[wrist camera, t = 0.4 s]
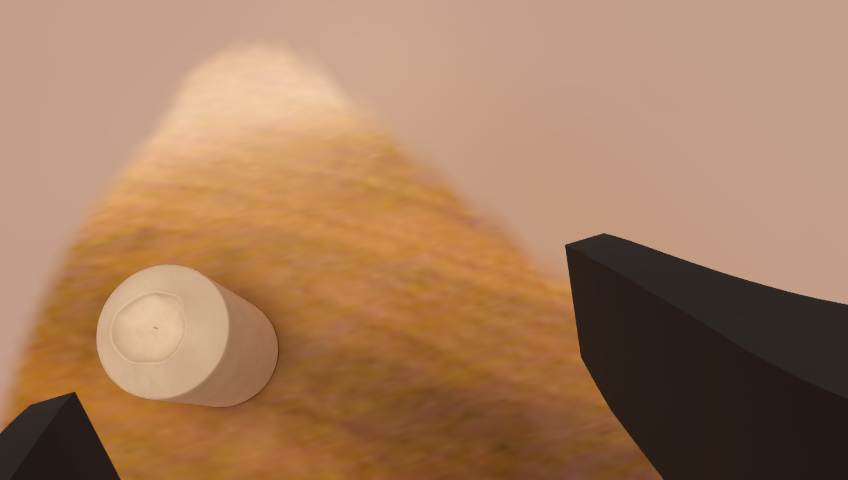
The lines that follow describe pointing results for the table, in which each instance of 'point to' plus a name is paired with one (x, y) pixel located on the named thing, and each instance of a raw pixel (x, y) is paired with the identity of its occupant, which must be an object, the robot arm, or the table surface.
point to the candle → (185, 339)
